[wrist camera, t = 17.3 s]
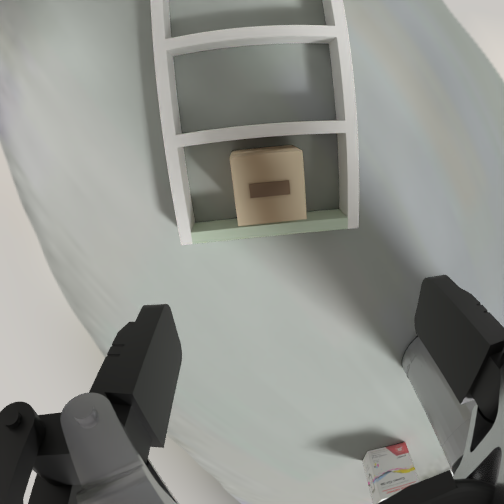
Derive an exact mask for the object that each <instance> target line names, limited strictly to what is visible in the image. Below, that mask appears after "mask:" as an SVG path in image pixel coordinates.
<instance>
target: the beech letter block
mask: <svg viewBox="0 0 504 504" xmlns="http://www.w3.org/2000/svg"><path fill="white" fill-rule="evenodd" d="M230 166H231V174H232V182H233V190H234V197H235V205H236V213H237V221H238V226H245V225H254V224H263V223H273V222H282V221H292V220H302V219H307V213H306V195H305V179H304V164H303V151H302V150H300V149H298V148H297V147H295V146H293V145H285V146H273V147H262V148H253V149H243V150H235V151H232V152H231V155H230Z"/></svg>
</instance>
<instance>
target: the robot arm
mask: <svg viewBox="0 0 504 504" xmlns="http://www.w3.org/2000/svg"><path fill="white" fill-rule="evenodd" d="M415 329H416V333H417V335H418V337H417V338H416V339H415V340H414V341H413V342H412V343H411V344H410V345H409V347H408V348H407V350H406V352H405V354H404V356H403V361H402V365H403V368H404V370H405V372H406V374H407V377H408V378H409V380H410V382H411V384H412V386H413V388H414V390H415V392H416V394H417V396H418V398H419V400H420V402H421V404H422V406H423V408H424V410H425V412H426V415H427V417H428V419H429V421H430V423H431V425H432V427H433V429H434V431H435V434H436V436H437V438H438V440H439V442H440V445H441V447H442V449H443V451H444V453H445V456H446V458H447V460H448V463H449V465H450V467H451V469H452V472H453V474H454V476H453V477H452V474H451V472H450V470H449V471H446V472H444V473H441V474H439V475H437V476H434V477H431V478H429V479H426V480H424V481H421V482H418V483H415V484H412V485H410V486H408V487H406V488H404V489H403V490H401V491H399V492H398V493H396V494H394V495H392V496H391V497H389V498H387V499H385V500H383V501H381V502H380V503H378V504H504V327H503V326H502V325H501V324H500V323H499V322H498V321H497V320H496V319H495V318H494V317H493V316H492V315H491V314H490V313H489V312H487V309H486V308H485V307H484V306H483V305H480V302H479V301H478V300H477V299H476V298H475V297H474V296H473V295H472V294H470V293H468V292H467V291H465V290H463V289H461V288H459V287H458V286H457V285H456V284H455V283H454V282H453V281H452V280H451V279H450V278H449V277H448V276H447V275H441V276H434V277H428V278H425V279H424V280H423V282H422V286H421V291H420V296H419V301H418V306H417V310H416V315H415ZM107 355H108V356H107V357H106V358H105V360H104V362H103V364H102V366H101V368H100V370H99V372H98V374H97V377H96V379H95V381H94V383H93V385H92V388H91V390H90V392H89V393H84V394H81V395H78V396H77V397H74V398H73V399H71V400H70V401H69V402H68V403H67V404H66V405H65V407H64V408H63V410H62V412H61V413H54V414H45V415H37V413H36V412H35V411H34V410H33V408H32V407H31V406H30V405H29V404H27V403H25V402H15V403H12V404H10V405H8V406H6V407H5V408H4V409H3V410H2V411H1V412H0V504H23V497H24V493H25V490H26V487H27V484H28V481H29V477H30V474H31V472H32V469H33V470H34V471H35V472H36V473H37V476H36V479H35V483H34V485H33V489H32V492H31V495H30V499H29V503H28V504H179V503H178V502H177V500H176V499H175V497H174V496H173V495H172V493H171V492H170V490H169V489H168V487H167V486H166V485H165V483H164V481H163V480H162V478H161V477H160V475H159V474H158V472H157V471H156V469H155V468H154V466H153V465H152V463H151V461H150V460H149V459H148V455H149V450H150V447H164V443H165V438H166V433H167V428H168V423H169V418H170V413H171V408H172V403H173V399H174V394H175V389H176V384H177V380H178V375H179V371H180V366H181V361H182V350H181V344H180V340H179V337H178V333H177V330H176V326H175V323H174V319H173V316H172V312H171V309H170V307H169V305H168V304H161V305H144V306H143V307H142V309H141V311H140V313H139V315H138V317H137V319H136V321H135V322H129V323H128V324H127V325H125V326H124V327H123V328H122V329H121V330H120V331H119V332H118V334H117V336H116V338H115V339H114V341H113V343H112V347H110V350H109V352H108V354H107Z"/></svg>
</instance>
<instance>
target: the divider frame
mask: <svg viewBox="0 0 504 504" xmlns="http://www.w3.org/2000/svg"><path fill="white" fill-rule="evenodd" d="M150 3H151V22H152V37H153V50H154V62H155V73H156V83H157V92H158V101H159V110H160V118H161V126H162V133H163V140H164V147H165V154H166V161H167V168H168V174H169V180H170V186H171V192H172V198H173V204H174V209H175V215H176V220H177V226H178V231H179V236H180V241H181V245H188V244H198V243H207V242H217V241H227V240H236V239H246V238H256V237H267V236H277V235H287V234H298V233H308V232H319V231H330V230H341V229H353V228H359V149H358V127H357V110H356V97H355V86H354V75H353V66H352V57H351V49H350V42H349V35H348V28H347V22H346V15H345V10H344V4H343V0H322V3H323V9H324V15H325V22H326V26H324V25H271V26H254V27H241V28H231V29H223V30H215V31H208V32H201V33H195V34H189V35H184V36H178V37H173V38H172V35H171V22H170V8H169V0H150ZM291 43H318V44H329V51H330V59H331V68H332V77H333V87H334V98H335V111H336V120H323V121H297V122H280V123H266V124H254V125H244V126H235V127H226V128H218V129H210V130H203V131H196V132H189V133H183V134H182V130H181V122H180V114H179V106H178V97H177V88H176V78H175V69H174V58H173V56H177V55H183V54H188V53H194V52H200V51H207V50H214V49H222V48H230V47H240V46H251V45H265V44H291ZM327 133H337V142H338V165H339V209H333V210H321V211H309V212H306V213H307V219H302V220H292V221H282V222H273V223H263V224H254V225H245V226H238V221H237V218H235V219H225V220H216V221H207V222H198V223H195V219H194V212H193V206H192V200H191V194H190V187H189V181H188V174H187V167H186V160H185V153H184V147H185V146H192V145H199V144H206V143H214V142H222V141H230V140H239V139H249V138H260V137H272V136H285V135H302V134H327Z"/></svg>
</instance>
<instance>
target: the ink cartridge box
mask: <svg viewBox="0 0 504 504" xmlns="http://www.w3.org/2000/svg"><path fill="white" fill-rule="evenodd" d="M363 466H364V470H365V474H366V477H367V481H368V485H369V489H370V493H371V497H372V501H373V504H378V503H380V502H381V501H383V500H385V499H387V498H389V497H391V496H392V495H394V494H396V493H398V492H399V491H401V490H403V489H404V488H406V487H408V486H410V485H412V484H415V483H418V482H419V480H418V477H417V474H416V471H415V468H414V465H413V462H412V459H411V457H410V454H409V451H408V449H407V446H406V443H405V442H403V443H400V444H396V445H392V446H388V447H383V448H379V449H374V450H370V451H367V453H366V455H365V457H364V459H363Z"/></svg>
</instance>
